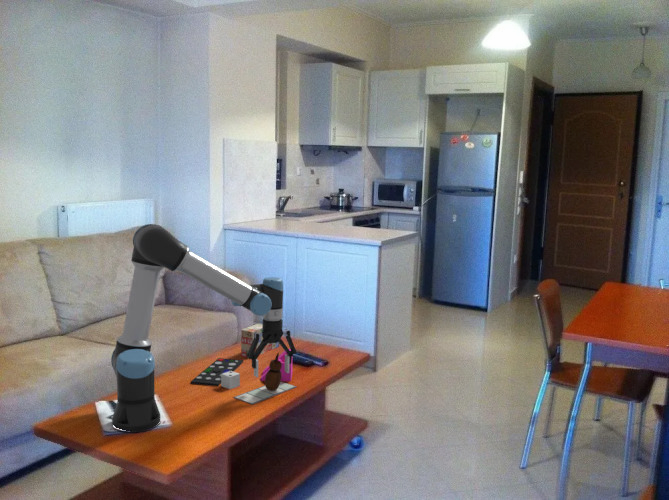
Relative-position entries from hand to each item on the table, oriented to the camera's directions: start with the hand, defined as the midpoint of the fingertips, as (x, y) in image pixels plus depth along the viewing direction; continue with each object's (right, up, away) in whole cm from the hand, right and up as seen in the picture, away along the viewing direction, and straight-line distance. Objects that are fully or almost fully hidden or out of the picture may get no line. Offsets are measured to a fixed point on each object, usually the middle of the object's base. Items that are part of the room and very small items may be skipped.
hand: (271, 374), depth 238 cm
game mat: (-2, -7, -2) cm, 7 cm away
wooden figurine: (0, -6, +1) cm, 6 cm away
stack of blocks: (-10, +1, +49) cm, 50 cm away
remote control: (-24, -4, +19) cm, 31 cm away
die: (-16, -5, +4) cm, 18 cm away
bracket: (0, -4, +16) cm, 17 cm away
